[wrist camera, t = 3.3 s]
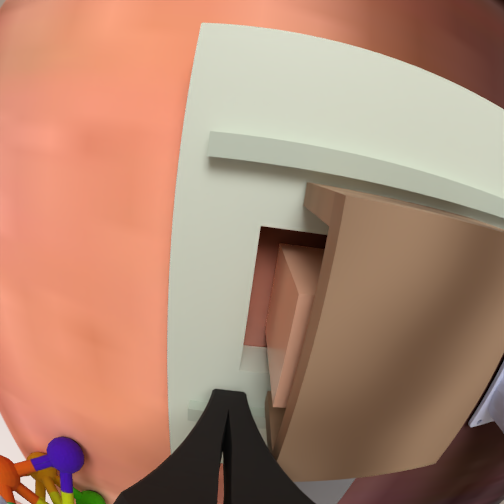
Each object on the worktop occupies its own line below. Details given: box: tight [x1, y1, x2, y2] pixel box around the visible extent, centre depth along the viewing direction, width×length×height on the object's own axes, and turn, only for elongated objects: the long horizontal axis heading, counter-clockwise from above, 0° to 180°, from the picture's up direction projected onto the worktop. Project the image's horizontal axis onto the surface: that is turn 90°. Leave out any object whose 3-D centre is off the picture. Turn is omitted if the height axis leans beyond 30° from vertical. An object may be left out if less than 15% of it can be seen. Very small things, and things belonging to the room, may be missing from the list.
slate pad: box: [294, 478, 355, 504], centre depth 17 cm, size 7×7×1 cm
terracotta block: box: [265, 243, 325, 408], centre depth 11 cm, size 4×4×5 cm
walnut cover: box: [265, 182, 504, 482], centre depth 9 cm, size 7×9×4 cm
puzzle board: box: [167, 23, 504, 463], centre depth 12 cm, size 16×20×3 cm
